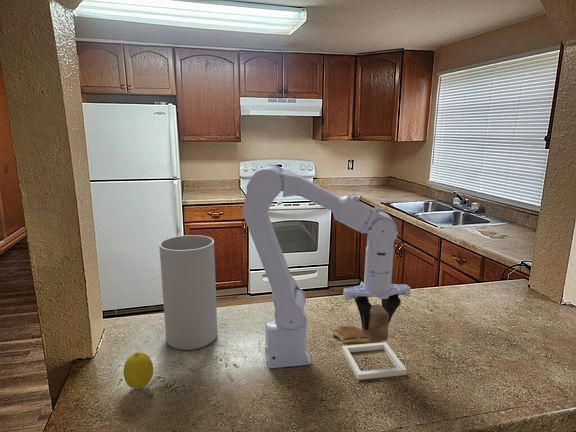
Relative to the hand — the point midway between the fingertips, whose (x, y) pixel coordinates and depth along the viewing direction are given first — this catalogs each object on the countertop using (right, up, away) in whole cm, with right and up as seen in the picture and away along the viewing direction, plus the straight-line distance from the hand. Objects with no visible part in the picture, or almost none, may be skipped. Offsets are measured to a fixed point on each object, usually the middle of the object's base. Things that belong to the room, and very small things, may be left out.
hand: (374, 326), depth 85 cm
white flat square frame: (0, -9, +2) cm, 9 cm away
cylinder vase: (-43, -6, +12) cm, 45 cm away
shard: (-2, -7, +14) cm, 15 cm away
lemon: (-49, -11, -7) cm, 51 cm away
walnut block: (0, -2, 0) cm, 2 cm away
